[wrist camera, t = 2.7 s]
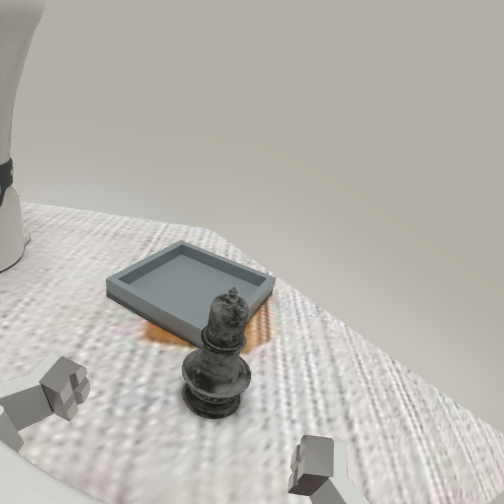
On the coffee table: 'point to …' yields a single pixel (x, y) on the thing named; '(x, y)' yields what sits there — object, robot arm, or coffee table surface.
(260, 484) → the coffee table surface
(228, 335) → the dark stone stupa
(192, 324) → the tray
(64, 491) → the robot arm
